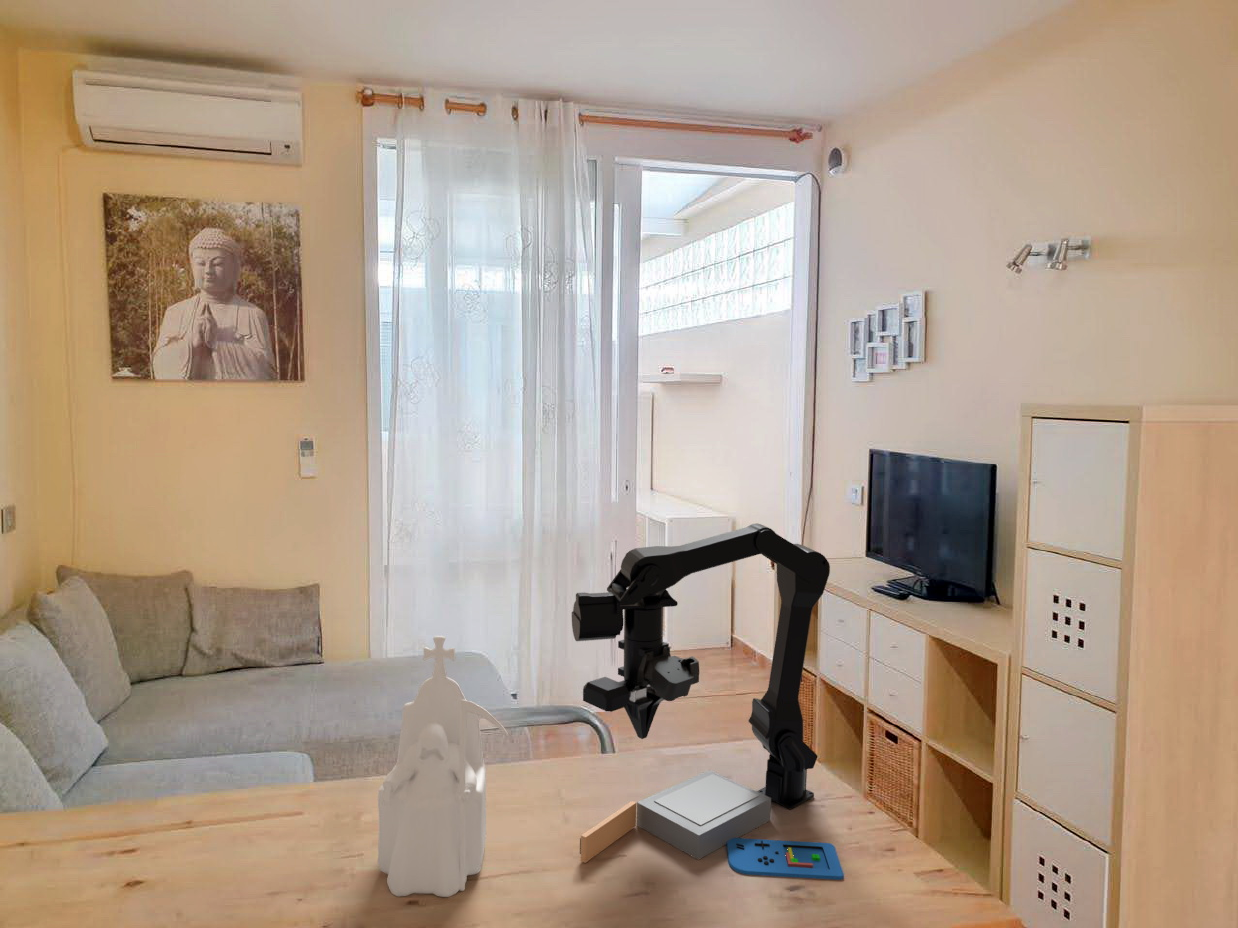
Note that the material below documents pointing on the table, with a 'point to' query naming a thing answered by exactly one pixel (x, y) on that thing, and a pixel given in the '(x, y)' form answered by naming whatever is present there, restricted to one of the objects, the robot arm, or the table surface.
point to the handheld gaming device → (784, 858)
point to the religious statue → (435, 790)
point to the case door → (607, 831)
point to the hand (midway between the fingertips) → (642, 737)
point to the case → (703, 813)
